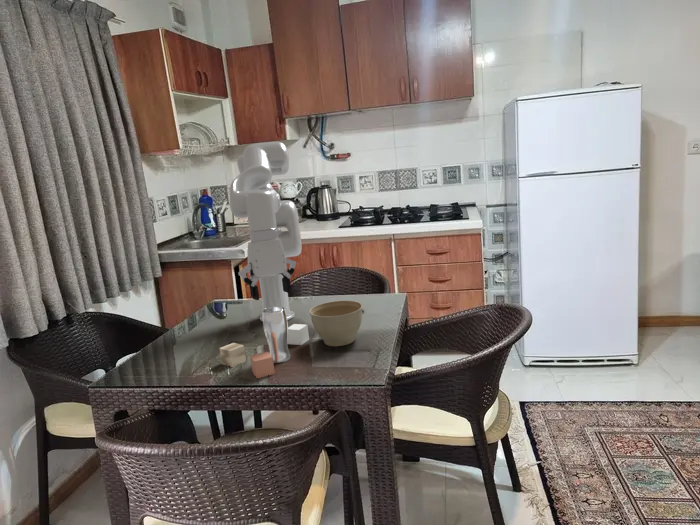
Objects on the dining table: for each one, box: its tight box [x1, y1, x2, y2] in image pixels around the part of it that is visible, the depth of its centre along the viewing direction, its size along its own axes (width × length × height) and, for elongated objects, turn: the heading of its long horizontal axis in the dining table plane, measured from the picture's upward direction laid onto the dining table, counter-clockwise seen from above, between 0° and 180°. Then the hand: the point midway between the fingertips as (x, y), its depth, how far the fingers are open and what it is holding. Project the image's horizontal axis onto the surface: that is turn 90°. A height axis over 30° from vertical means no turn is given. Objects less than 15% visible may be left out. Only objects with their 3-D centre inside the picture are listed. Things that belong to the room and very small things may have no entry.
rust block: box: [249, 351, 276, 379], centre depth 143 cm, size 5×5×5 cm
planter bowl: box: [309, 300, 363, 347], centre depth 162 cm, size 16×16×11 cm
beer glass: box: [261, 306, 291, 364], centre depth 151 cm, size 7×7×15 cm
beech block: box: [219, 342, 247, 368], centre depth 153 cm, size 5×5×5 cm
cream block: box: [287, 323, 310, 346], centre depth 166 cm, size 5×5×5 cm
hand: (271, 295), depth 149 cm, fingers open, 9 cm apart
